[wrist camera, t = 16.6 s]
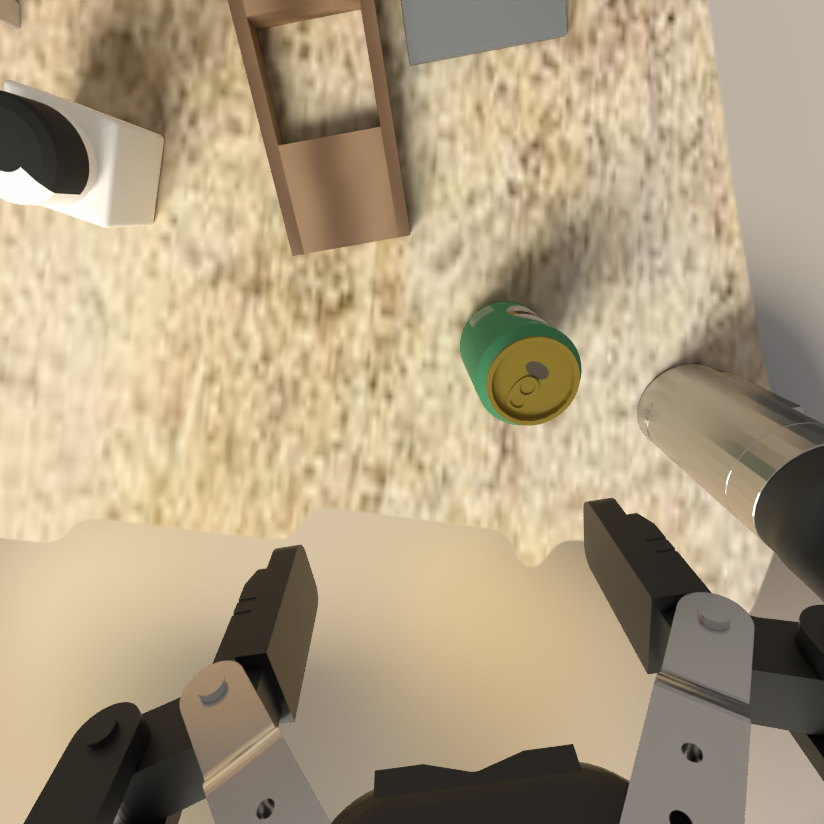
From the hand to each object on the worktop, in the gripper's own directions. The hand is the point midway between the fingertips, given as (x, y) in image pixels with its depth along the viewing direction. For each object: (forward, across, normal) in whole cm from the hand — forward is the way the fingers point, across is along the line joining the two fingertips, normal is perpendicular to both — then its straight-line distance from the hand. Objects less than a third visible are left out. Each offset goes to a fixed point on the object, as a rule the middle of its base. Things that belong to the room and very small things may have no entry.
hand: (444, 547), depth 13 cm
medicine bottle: (+33, +22, -16) cm, 43 cm away
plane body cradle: (+33, +4, -19) cm, 38 cm away
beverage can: (+33, -8, +4) cm, 34 cm away
